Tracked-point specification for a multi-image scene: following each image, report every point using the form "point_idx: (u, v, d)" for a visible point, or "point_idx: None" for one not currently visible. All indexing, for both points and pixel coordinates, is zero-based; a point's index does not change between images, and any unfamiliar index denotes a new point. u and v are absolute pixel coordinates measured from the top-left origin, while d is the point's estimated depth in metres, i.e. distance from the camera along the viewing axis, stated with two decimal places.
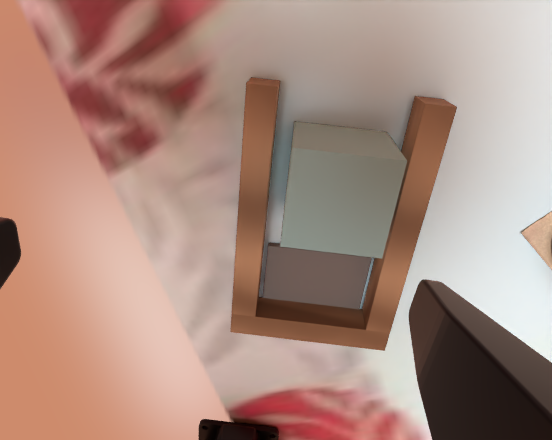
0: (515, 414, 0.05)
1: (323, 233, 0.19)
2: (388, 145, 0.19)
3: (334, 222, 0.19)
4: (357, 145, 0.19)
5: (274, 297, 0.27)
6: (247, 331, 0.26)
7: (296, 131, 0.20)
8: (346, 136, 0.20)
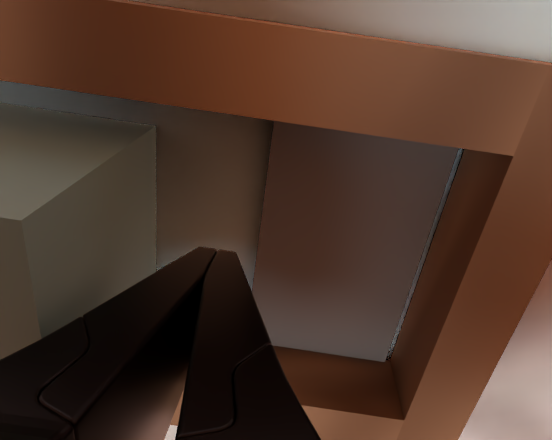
0: None
1: None
2: None
3: None
4: None
5: (387, 341, 0.11)
6: (450, 439, 0.10)
7: None
8: None
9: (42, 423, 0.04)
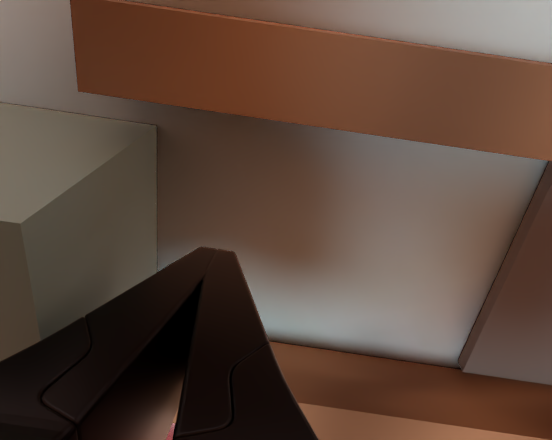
0: None
1: None
2: None
3: None
4: None
5: None
6: None
7: None
8: None
9: (45, 424, 0.04)
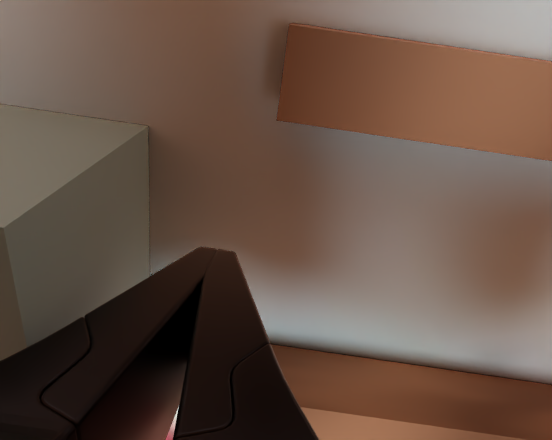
0: None
1: None
2: None
3: None
4: None
5: None
6: None
7: None
8: None
9: (45, 424, 0.04)
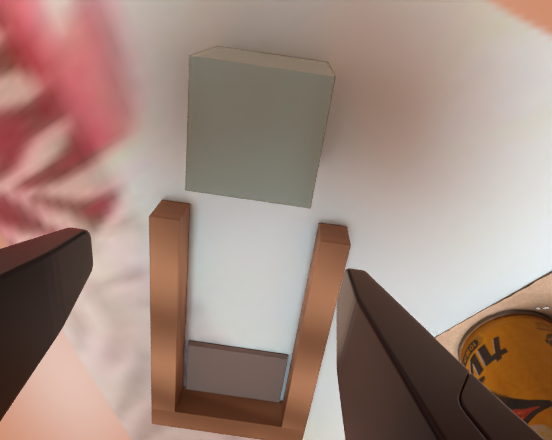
0: (395, 396, 0.05)
1: (237, 174, 0.16)
2: (320, 67, 0.16)
3: (249, 159, 0.15)
4: (280, 63, 0.15)
5: (197, 389, 0.28)
6: (167, 424, 0.27)
7: (210, 49, 0.16)
8: (272, 58, 0.16)
9: None
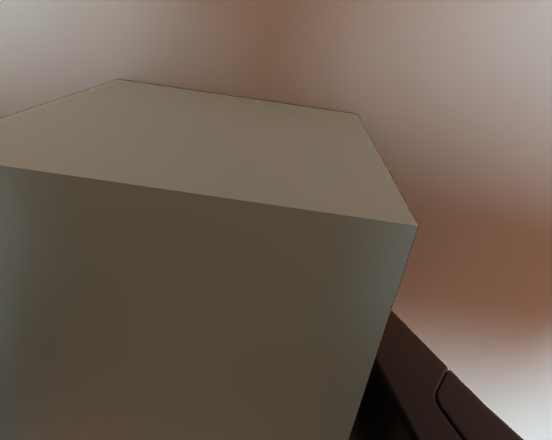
0: (373, 393, 0.05)
1: None
2: (352, 152, 0.06)
3: (152, 420, 0.05)
4: (237, 149, 0.05)
5: None
6: None
7: (67, 99, 0.06)
8: (226, 120, 0.07)
9: None
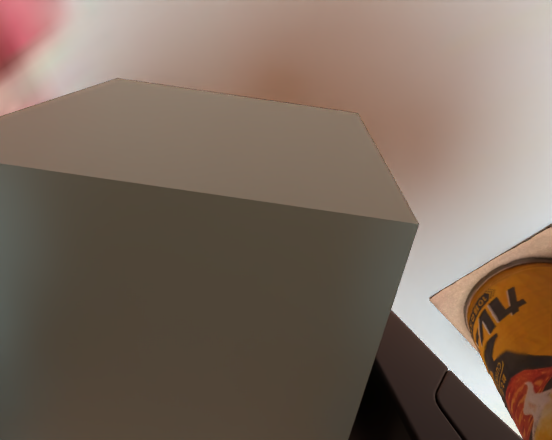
0: (373, 393, 0.05)
1: None
2: (352, 151, 0.06)
3: (151, 418, 0.05)
4: (237, 148, 0.05)
5: None
6: None
7: (67, 98, 0.06)
8: (226, 119, 0.07)
9: None
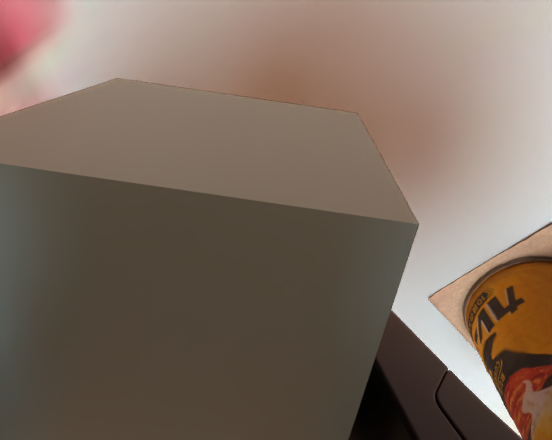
0: (373, 393, 0.05)
1: None
2: (352, 151, 0.06)
3: (152, 418, 0.05)
4: (237, 148, 0.05)
5: None
6: None
7: (67, 98, 0.06)
8: (226, 119, 0.07)
9: None
